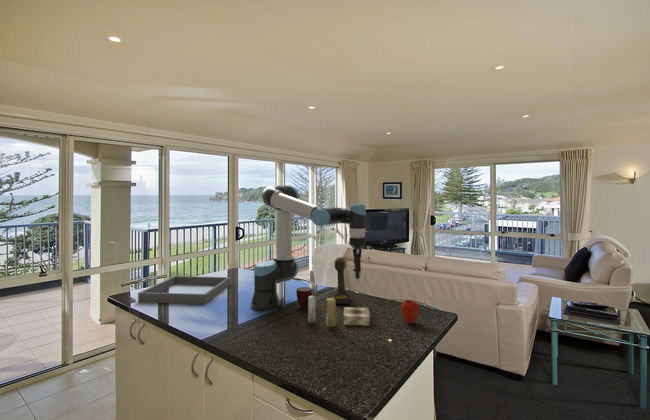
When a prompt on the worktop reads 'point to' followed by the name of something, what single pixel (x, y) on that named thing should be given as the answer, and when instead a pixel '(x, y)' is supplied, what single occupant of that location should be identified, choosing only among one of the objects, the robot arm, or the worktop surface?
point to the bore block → (356, 316)
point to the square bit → (330, 312)
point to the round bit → (311, 309)
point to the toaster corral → (155, 296)
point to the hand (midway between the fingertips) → (356, 281)
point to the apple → (409, 310)
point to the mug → (303, 296)
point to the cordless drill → (341, 282)
